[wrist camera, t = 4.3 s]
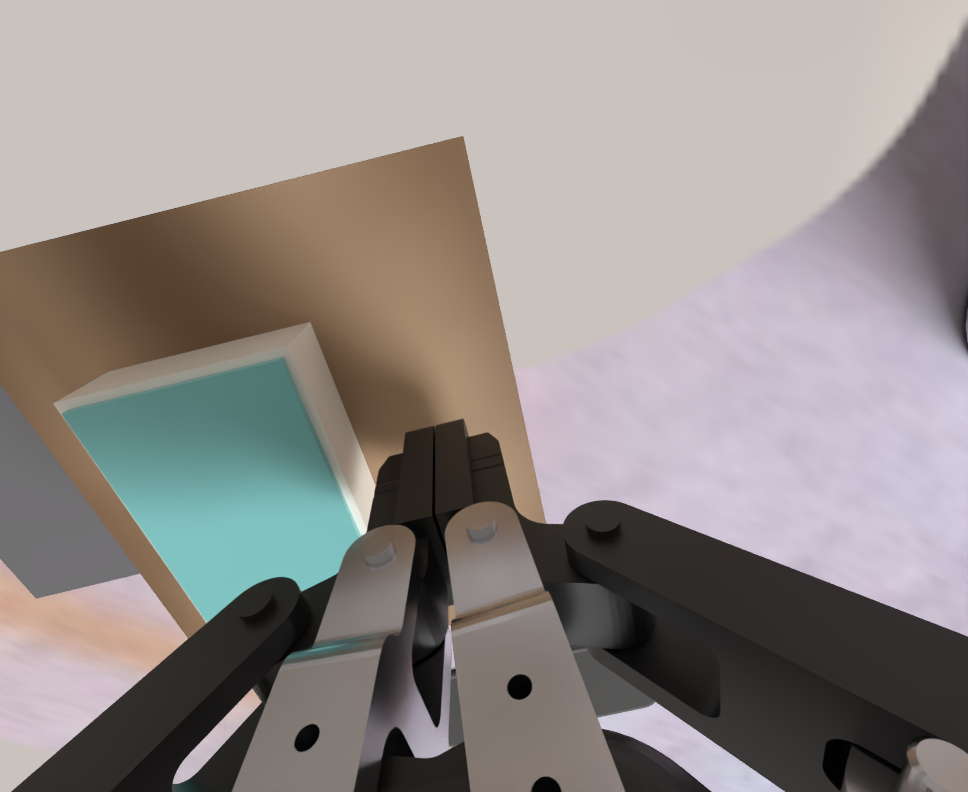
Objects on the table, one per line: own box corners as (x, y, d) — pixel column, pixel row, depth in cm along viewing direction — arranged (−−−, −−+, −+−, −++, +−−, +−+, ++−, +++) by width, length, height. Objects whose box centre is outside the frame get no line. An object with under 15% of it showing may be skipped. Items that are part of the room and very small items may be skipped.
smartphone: (412, 683, 28) (654, 632, 28) (413, 669, 29) (648, 619, 29) (442, 751, 32) (661, 706, 31) (442, 736, 32) (655, 692, 32)
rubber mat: (157, 275, 18) (152, 277, 18) (291, 532, 23) (289, 537, 23) (-167, 355, 18) (-179, 359, 18) (42, 592, 24) (36, 598, 23)
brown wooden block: (452, 156, 17) (463, 135, 10) (522, 467, 23) (562, 598, 16) (137, 234, 17) (-83, 272, 10) (287, 524, 23) (219, 679, 16)
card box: (310, 321, 11) (285, 349, 9) (406, 564, 15) (402, 619, 13) (109, 371, 11) (45, 407, 9) (252, 601, 15) (225, 661, 13)
